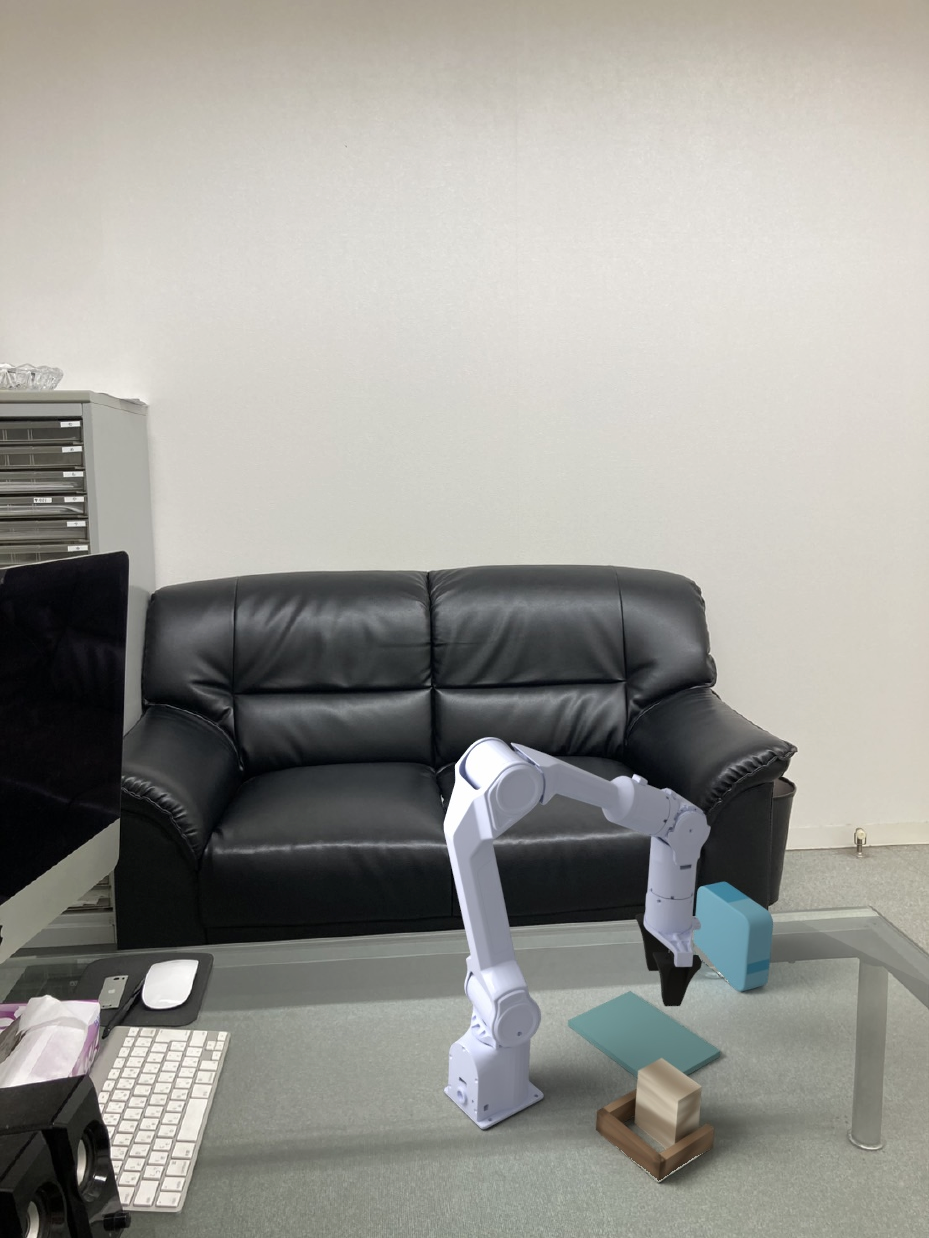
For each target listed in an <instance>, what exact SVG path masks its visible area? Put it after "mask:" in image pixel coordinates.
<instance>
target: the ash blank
mask: <svg viewBox="0 0 929 1238" xmlns="http://www.w3.org/2000/svg"><path fill="white" fill-rule="evenodd" d="M636 1081H637V1082H636V1089H637V1094H636V1108H635V1116H634V1125H636V1126H637V1127H638V1128H639V1129H641V1130H642V1131H644V1133H646V1135H648V1136H649V1137H650V1138H652V1139H653V1140H654V1141H655V1142H657V1143H658V1144H659V1145H660V1146H662V1147H663V1148H664V1150H666V1149H668V1148H669V1147H671V1146H672V1145H674V1144H675V1143H677V1142H679V1141H680V1140H682V1139H683V1138H685V1137H686V1136H688V1135H690V1134H691V1133H693V1132H694V1131H696V1130H697V1129H699V1128H700V1127H699V1126H700V1125H699V1124H700V1114H701V1113H700V1112H701V1100H702V1089H703V1086H702V1085H701V1084H699V1083H698V1082H696V1081H695V1080H693V1079H692V1078H691V1077H690V1076H689V1075H687V1076H686V1075H685V1074H684V1073H682V1072H681V1071H679V1070H678V1069H677V1068H675V1067H674V1066H672V1065H671V1064H670V1063H668V1062H667V1061H665V1060H664V1059H663V1058H661V1059H659V1060H657V1061H655V1062H653V1063H651V1064H650V1065H648V1066H646V1067H644V1068H642V1069H640V1070H639V1071H638V1078H637V1080H636Z"/></svg>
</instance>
